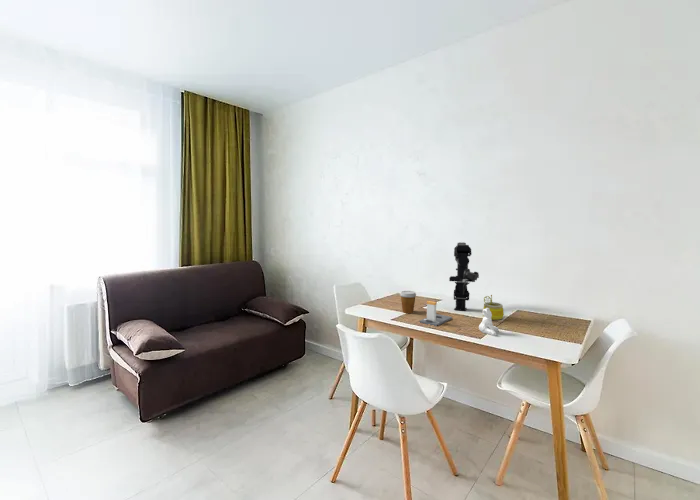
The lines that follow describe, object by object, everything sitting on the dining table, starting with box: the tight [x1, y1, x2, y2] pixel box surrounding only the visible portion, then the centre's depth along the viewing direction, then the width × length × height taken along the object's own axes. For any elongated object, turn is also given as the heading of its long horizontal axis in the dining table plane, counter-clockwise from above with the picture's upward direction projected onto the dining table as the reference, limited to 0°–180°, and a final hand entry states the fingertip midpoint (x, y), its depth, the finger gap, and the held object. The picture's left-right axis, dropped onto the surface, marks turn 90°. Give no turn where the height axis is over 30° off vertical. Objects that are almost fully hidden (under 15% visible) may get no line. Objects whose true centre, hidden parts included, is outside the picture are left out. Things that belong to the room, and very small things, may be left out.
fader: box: [426, 300, 438, 322], centre depth 181 cm, size 2×5×10 cm, turn 48°
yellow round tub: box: [482, 294, 505, 321], centre depth 190 cm, size 13×11×12 cm
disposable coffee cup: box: [399, 290, 417, 314], centre depth 202 cm, size 10×10×12 cm
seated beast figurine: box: [478, 308, 500, 337], centre depth 165 cm, size 10×9×12 cm
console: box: [419, 313, 453, 327], centre depth 185 cm, size 18×10×2 cm, turn 138°
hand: (462, 294), depth 191 cm, fingers closed
